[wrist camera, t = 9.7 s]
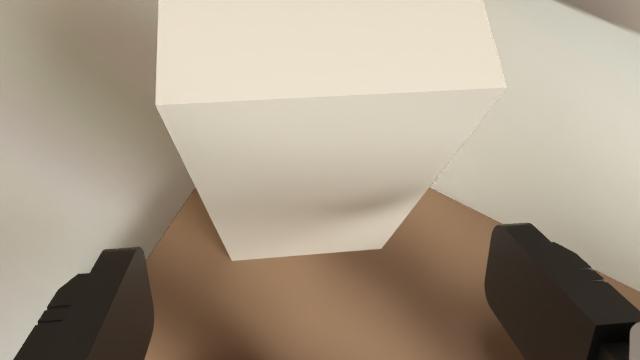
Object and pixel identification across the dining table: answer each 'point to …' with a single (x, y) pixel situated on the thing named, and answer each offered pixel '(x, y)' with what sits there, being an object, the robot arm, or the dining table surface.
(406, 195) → the cream tall block
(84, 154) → the dining table surface
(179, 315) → the board
